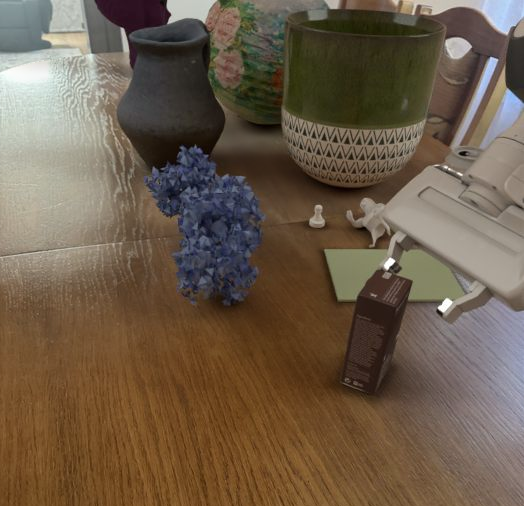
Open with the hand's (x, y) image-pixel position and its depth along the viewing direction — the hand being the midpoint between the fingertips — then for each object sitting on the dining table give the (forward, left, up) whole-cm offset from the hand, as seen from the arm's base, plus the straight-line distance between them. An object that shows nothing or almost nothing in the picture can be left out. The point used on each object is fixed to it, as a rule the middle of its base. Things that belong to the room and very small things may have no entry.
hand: (411, 295), depth 59 cm
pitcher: (+30, -63, -10) cm, 70 cm away
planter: (-3, -57, -10) cm, 58 cm away
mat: (-4, -21, -10) cm, 24 cm away
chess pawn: (+5, -37, -10) cm, 39 cm away
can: (-19, -39, -10) cm, 45 cm away
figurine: (-3, -35, -10) cm, 37 cm away
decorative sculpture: (+23, -24, -10) cm, 34 cm away
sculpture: (+47, -138, -10) cm, 146 cm away
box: (+4, +1, -10) cm, 11 cm away
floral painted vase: (+10, -92, -10) cm, 93 cm away
